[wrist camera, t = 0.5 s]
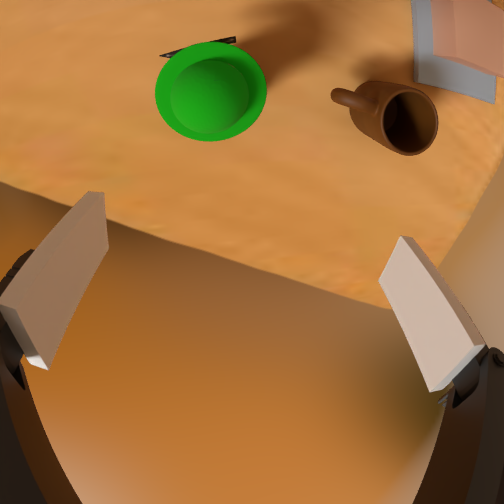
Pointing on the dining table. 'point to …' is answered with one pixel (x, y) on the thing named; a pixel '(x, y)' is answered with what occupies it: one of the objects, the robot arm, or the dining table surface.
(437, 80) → the plate
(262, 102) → the toy
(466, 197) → the dining table surface
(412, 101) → the mug
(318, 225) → the dining table surface
